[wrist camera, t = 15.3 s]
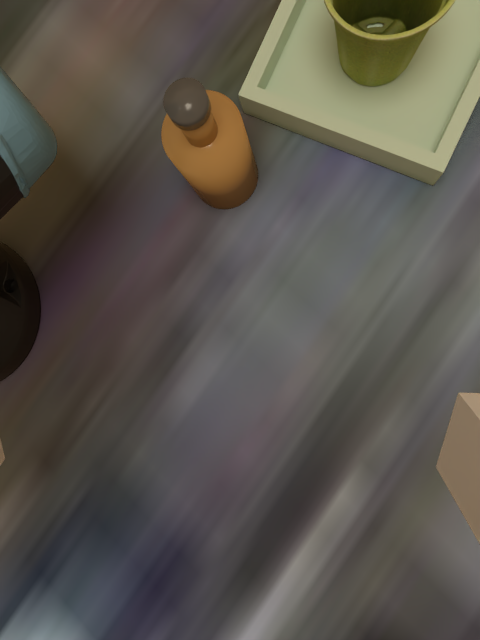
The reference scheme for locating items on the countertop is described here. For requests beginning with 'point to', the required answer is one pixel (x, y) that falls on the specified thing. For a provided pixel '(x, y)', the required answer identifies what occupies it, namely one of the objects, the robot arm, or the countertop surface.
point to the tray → (369, 89)
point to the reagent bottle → (208, 144)
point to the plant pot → (381, 35)
